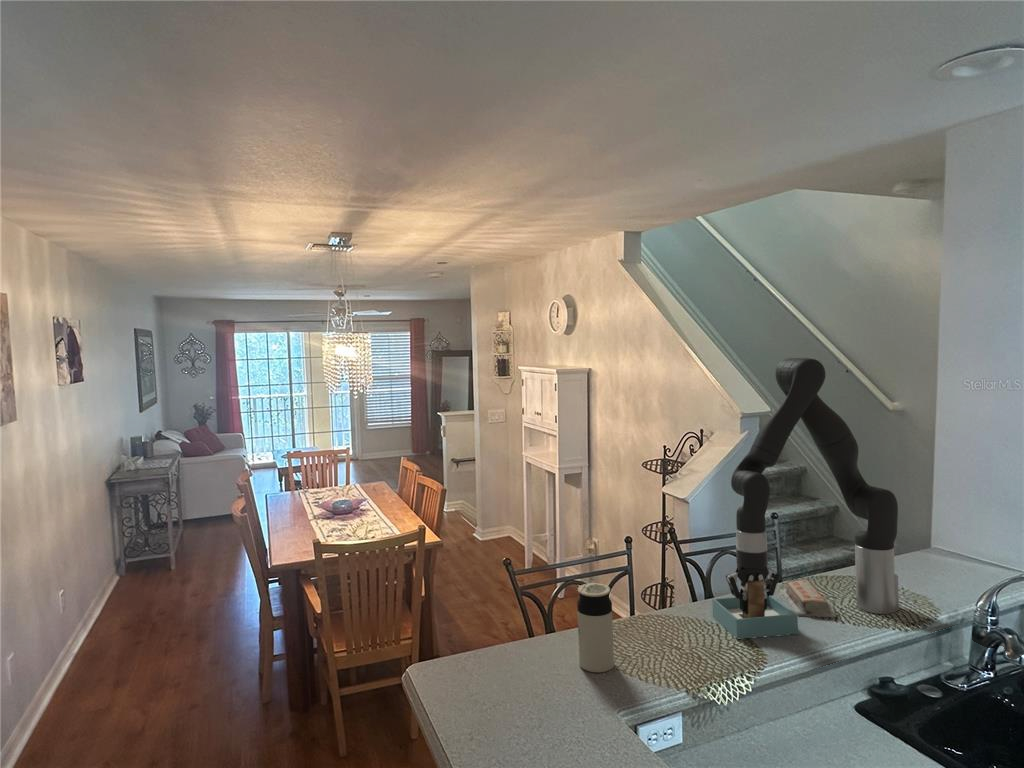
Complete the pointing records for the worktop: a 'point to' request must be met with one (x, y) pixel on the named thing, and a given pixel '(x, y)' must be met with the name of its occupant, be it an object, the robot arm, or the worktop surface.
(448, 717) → the worktop surface
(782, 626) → the walled box
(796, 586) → the packaged product
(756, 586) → the brown wooden block
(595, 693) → the worktop surface
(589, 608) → the travel mug
